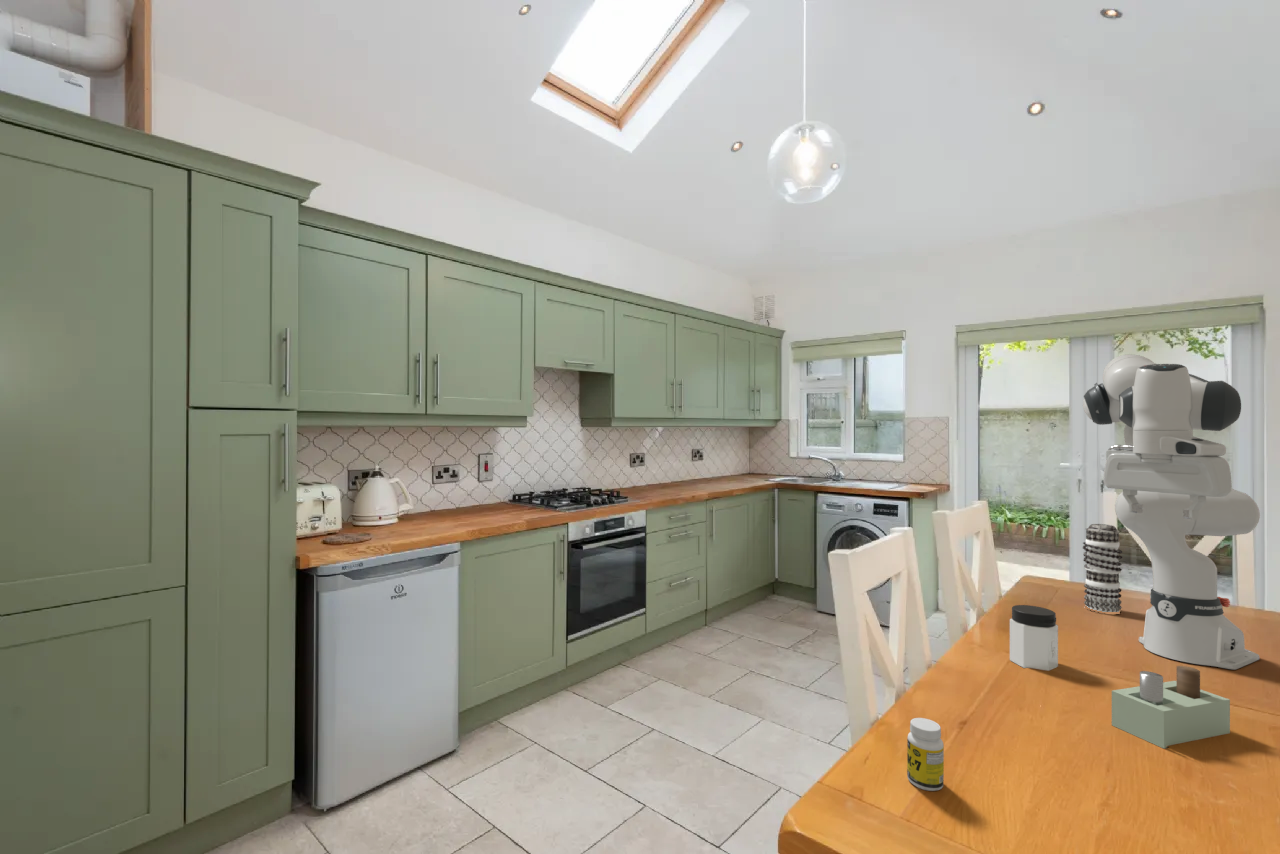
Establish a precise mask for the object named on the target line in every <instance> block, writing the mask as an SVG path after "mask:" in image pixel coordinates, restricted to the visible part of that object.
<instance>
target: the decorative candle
mask: <svg viewBox="0 0 1280 854" xmlns="http://www.w3.org/2000/svg"><path fill="white" fill-rule="evenodd" d="M1120 532H1121V531H1119V530H1118V529H1117V527H1115V526H1114V525H1112V524H1104V523H1103V524H1102V523H1091V524H1090V525H1089V526H1088V527H1087V528H1085V541H1084V542H1082V544H1083V546H1082V549H1083V550H1084V551H1085V552H1083V559H1082V561H1083V562H1085V564H1083V565H1084V566H1083V569H1084V570H1086V572H1085V573H1086V574H1085V575H1086V577H1085V584H1084V585H1083V587H1084V588H1085V589H1084V591H1083V592H1084V593H1086V594H1085V595H1084V596H1083V598H1084V602H1083V604H1084V605H1085V606H1087V607H1088V608H1090V609H1093V610H1097V611H1102V612H1119V611H1121V610H1122V606H1121V605H1122V600H1121V599H1120V598H1122V594H1121V593H1122V589H1121V588H1120V587H1121V586H1120V585H1121V583H1120V574H1121V573H1122V570H1123V569H1122V568H1121V567H1120V566H1122V564H1123V563H1121V562H1120V561H1119V560H1121V559H1123V556H1121V554H1122V553H1123V551H1122V550H1121V549H1119V548H1120V545H1121V544H1120V543H1121V542H1120V540H1119V539H1120V537H1119V536H1120V535H1119V534H1120Z"/></svg>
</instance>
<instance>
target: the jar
mask: <svg viewBox="0 0 1280 854" xmlns="http://www.w3.org/2000/svg"><path fill="white" fill-rule="evenodd" d="M1056 623H1057V615H1056V612H1054V611H1053V610H1051V609H1048V608H1044V607H1042V606H1035V605H1029V604H1027V605H1026V604H1016V605H1013V606H1012V607H1011V618H1010V619H1009V661H1010V662H1013V663H1014V664H1015V665H1018V666H1020V667H1021V668H1023V669H1036V670H1041V671H1046V672H1047V671H1048V672H1049V671H1051V670H1053V669H1055V668H1057V667H1059V625H1058V624H1056Z"/></svg>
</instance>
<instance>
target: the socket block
mask: <svg viewBox="0 0 1280 854" xmlns="http://www.w3.org/2000/svg"><path fill="white" fill-rule="evenodd" d="M1111 726H1113V727H1115V728H1117V729H1119V730H1121V731H1124V732H1126V733H1128V734H1130V735H1133V736H1135V737H1137V738H1139V739H1141V740H1144V741H1146V742H1148V743H1151V744H1153V745H1155V746H1157V747H1160V748H1161V749H1170V747H1169V746H1173V745H1177V744H1182V743H1188V742H1191V741H1192V742H1193V741H1198V740H1202V739H1203V740H1204V739H1207V738H1212V737H1218V736H1221V735H1227V734H1231V699H1230V698H1227V697H1224V696H1220V695H1217V694H1215V693H1212V692H1210V691H1206V690H1204V689H1201V688H1200V698H1198V699H1193V698H1190V697H1187V696H1184V695H1182V694H1179V693H1177V680H1171V681H1170V680H1169V681H1163V705H1158V706H1157V705H1154V704H1152V703H1149V702H1147V701H1144V700H1141V699H1140V685H1138V686H1133V687H1127V688H1121V689H1113V690H1111Z"/></svg>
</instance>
